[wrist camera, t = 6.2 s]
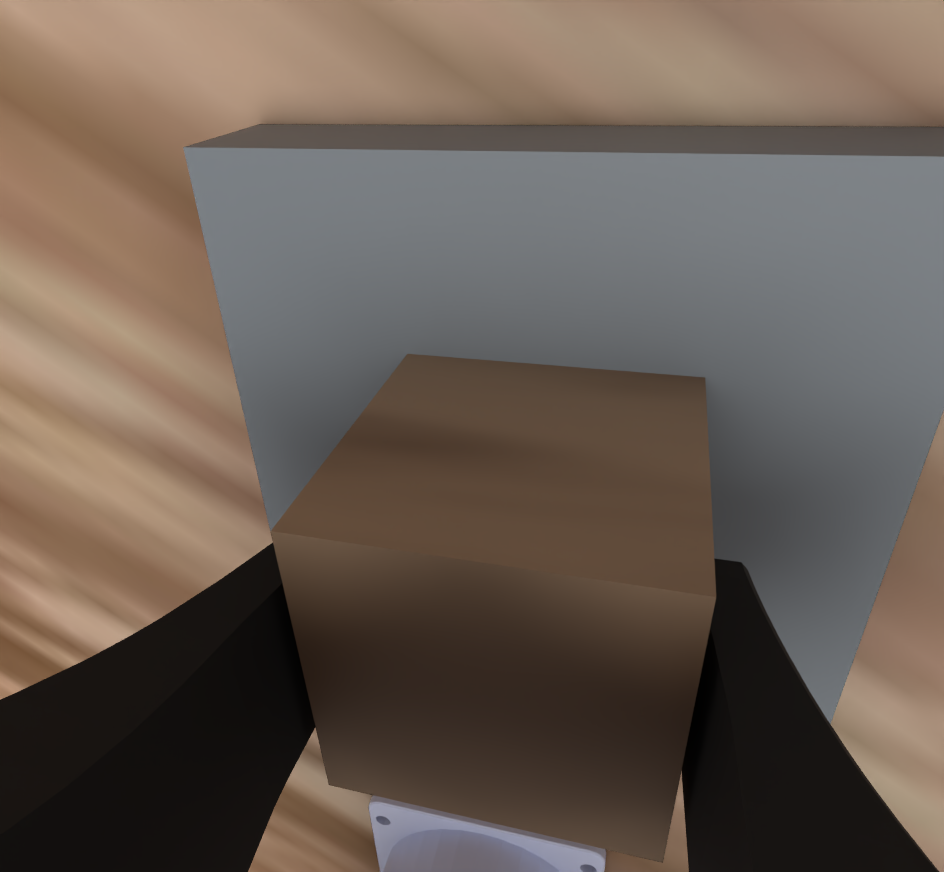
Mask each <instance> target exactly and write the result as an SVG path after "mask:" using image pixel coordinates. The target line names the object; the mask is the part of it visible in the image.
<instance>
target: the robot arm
mask: <svg viewBox="0 0 944 872" xmlns="http://www.w3.org/2000/svg"><path fill="white" fill-rule="evenodd" d="M714 561H715V581H716V601H715V606H714V611H713V616H712V621H711V626H710V631H709V636H708V641H707V646H706V651H705V656H704V661H703V666H702V671H701V676H700V681H699V686H698V690H697V695H696V700H695V705H694V710H693V715H692V720H691V725H690V730H689V735H688V740H687V745H686V750H685V755H684V760H683V765H682V782H683V796H684V809H685V823H686V837H687V850H688V864H689V872H939V871H938V870H937V869H936V867H935V866H934V865H933V864H932V862H931V861H930V860H929V859H928V857H927V856H926V855H925V854H924V852H923V851H922V850H921V849H920V847H919V846H918V845H917V844H916V842H915V841H914V840H913V839H912V837H911V836H910V835H909V833H908V832H907V831H906V830H905V828H904V827H903V826H902V825H901V823H900V822H899V821H898V819H897V818H896V817H895V815H894V814H893V813H892V811H891V810H890V809H889V807H888V806H887V805H886V803H885V802H884V801H883V799H882V798H881V797H880V796H879V794H878V793H877V792H876V790H875V789H874V787H873V786H872V785H871V783H870V782H869V781H868V779H867V778H866V776H865V775H864V774H863V772H862V771H861V769H860V768H859V766H858V765H857V764H856V762H855V761H854V759H853V758H852V756H851V755H850V753H849V752H848V750H847V749H846V747H845V746H844V744H843V743H842V741H841V740H840V738H839V737H838V735H837V734H836V732H835V731H834V729H833V728H832V726H831V725H830V723H829V721H828V720H827V718H826V717H825V715H824V714H823V712H822V710H821V709H820V707H819V706H818V704H817V702H816V701H815V699H814V697H813V696H812V694H811V693H810V691H809V689H808V687H807V686H806V684H805V682H804V680H803V679H802V677H801V675H800V673H799V672H798V670H797V668H796V667H795V665H794V663H793V661H792V660H791V658H790V656H789V654H788V653H787V651H786V649H785V647H784V645H783V643H782V641H781V640H780V638H779V636H778V634H777V632H776V630H775V628H774V626H773V624H772V622H771V620H770V618H769V616H768V614H767V612H766V610H765V608H764V606H763V604H762V602H761V599H760V597H759V595H758V593H757V591H756V588H755V586H754V584H753V581H752V579H751V577H750V574H749V571H748V569H747V568H746V567H745V566H744V565H743V563H742V562H737V561H730V560H722V559H715V558H714ZM314 728H315V722H314V718H313V714H312V709H311V705H310V701H309V696H308V692H307V688H306V683H305V679H304V675H303V670H302V666H301V662H300V657H299V653H298V649H297V644H296V640H295V636H294V631H293V627H292V622H291V618H290V614H289V609H288V605H287V601H286V596H285V592H284V588H283V583H282V579H281V575H280V570H279V566H278V562H277V557H276V553H275V549H274V544H273V543H272V544H270V545H269V546H267V547H266V548H265V549H263V550H262V551H260V552H259V553H258V554H256V555H255V556H253V557H252V558H251V559H249V560H248V561H246V562H245V563H243V564H242V565H241V566H239V567H238V568H236V569H235V570H234V571H232V572H231V573H229V574H228V575H226V576H225V577H224V578H222V579H221V580H219V581H218V582H216V583H215V584H213V585H211V586H210V587H208V588H207V589H205V590H204V591H202V592H201V593H199V594H197V595H196V596H194V597H193V598H191V599H190V600H188V601H187V602H185V603H184V604H182V605H180V606H179V607H177V608H176V609H174V610H173V611H171V612H170V613H168V614H166V615H165V616H163V617H162V618H160V619H158V620H157V621H155V622H153V623H152V624H150V625H148V626H147V627H145V628H143V629H141V630H140V631H138V632H136V633H134V634H133V635H131V636H129V637H127V638H125V639H124V640H122V641H120V642H118V643H116V644H114V645H113V646H111V647H109V648H107V649H105V650H103V651H101V652H100V653H98V654H96V655H94V656H92V657H90V658H88V659H86V660H84V661H82V662H80V663H78V664H76V665H74V666H72V667H70V668H68V669H65V670H63V671H61V672H59V673H57V674H55V675H53V676H51V677H49V678H46V679H44V680H42V681H40V682H38V683H36V684H34V685H32V686H29V687H27V688H25V689H23V690H21V691H19V692H17V693H15V694H12V695H10V696H8V697H6V698H3V699H1V700H0V872H248V870H249V868H250V865H251V863H252V860H253V858H254V855H255V853H256V851H257V848H258V846H259V843H260V841H261V838H262V836H263V833H264V831H265V829H266V826H267V824H268V821H269V819H270V816H271V814H272V812H273V809H274V807H275V805H276V803H277V800H278V798H279V796H280V794H281V792H282V790H283V788H284V786H285V784H286V782H287V780H288V778H289V776H290V774H291V772H292V770H293V768H294V766H295V764H296V762H297V761H298V759H299V757H300V755H301V753H302V751H303V749H304V747H305V745H306V744H307V742H308V740H309V738H310V736H311V734H312V732H313V730H314ZM369 813H370V818H371V824H372V829H373V835H374V840H375V846H376V851H377V857H378V862H379V868H380V872H604V869H605V861H606V851H605V849H602V848H598V847H593V846H589V845H585V844H581V843H576V842H572V841H568V840H563V839H559V838H555V837H550V836H546V835H542V834H538V833H533V832H529V831H525V830H520V829H516V828H512V827H508V826H503V825H499V824H495V823H490V822H486V821H482V820H477V819H473V818H469V817H465V816H460V815H456V814H452V813H447V812H443V811H439V810H434V809H430V808H426V807H422V806H417V805H413V804H409V803H404V802H400V801H396V800H392V799H387V798H383V797H379V796H374V795H373V796H372V798H371V801H370V803H369Z"/></svg>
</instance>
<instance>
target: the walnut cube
mask: <svg viewBox="0 0 944 872" xmlns="http://www.w3.org/2000/svg"><path fill="white" fill-rule="evenodd" d="M271 536H272V540H273V544H274V549H275V553H276V557H277V562H278V566H279V570H280V575H281V579H282V583H283V588H284V592H285V596H286V601H287V605H288V609H289V614H290V618H291V622H292V627H293V631H294V636H295V640H296V644H297V649H298V653H299V657H300V662H301V666H302V670H303V675H304V679H305V683H306V688H307V692H308V696H309V701H310V705H311V709H312V714H313V718H314V722H315V727H316V731H317V735H318V740H319V744H320V748H321V753H322V757H323V761H324V766H325V770H326V775H327V779H328V783H329V785H331V786H336V787H340V788H344V789H349V790H353V791H357V792H361V793H366V794H370V795H374V796H379V797H383V798H387V799H392V800H396V801H400V802H404V803H409V804H413V805H417V806H422V807H426V808H430V809H434V810H439V811H443V812H447V813H452V814H456V815H460V816H465V817H469V818H473V819H477V820H482V821H486V822H490V823H495V824H499V825H503V826H508V827H512V828H516V829H520V830H525V831H529V832H533V833H538V834H542V835H546V836H550V837H555V838H559V839H563V840H568V841H572V842H576V843H581V844H585V845H589V846H593V847H598V848H602V849H606V850H611V851H615V852H619V853H623V854H628V855H632V856H636V857H641V858H645V859H649V860H654V861H658V862H662V863H663V859H664V854H665V849H666V844H667V839H668V834H669V829H670V824H671V819H672V815H673V810H674V805H675V800H676V795H677V790H678V785H679V780H680V775H681V770H682V765H683V760H684V755H685V750H686V745H687V740H688V735H689V730H690V725H691V720H692V715H693V710H694V705H695V700H696V695H697V690H698V686H699V681H700V676H701V671H702V666H703V661H704V656H705V651H706V646H707V641H708V636H709V631H710V626H711V621H712V616H713V611H714V606H715V601H716V581H715V561H714V541H713V521H712V502H711V482H710V462H709V442H708V422H707V402H706V383H705V377H693V376H681V375H668V374H656V373H643V372H631V371H618V370H605V369H593V368H580V367H568V366H555V365H542V364H530V363H517V362H505V361H492V360H479V359H467V358H454V357H442V356H429V355H416V354H407V355H406V356H405V358H404V359H403V360H402V361H401V363H400V364H399V365H398V367H397V368H396V369H395V370H394V372H393V373H392V374H391V376H390V377H389V378H388V380H387V381H386V382H385V383H384V385H383V386H382V387H381V389H380V390H379V391H378V393H377V394H376V395H375V396H374V398H373V399H372V400H371V402H370V403H369V404H368V405H367V407H366V408H365V409H364V411H363V412H362V413H361V415H360V416H359V417H358V418H357V420H356V421H355V422H354V424H353V425H352V426H351V428H350V429H349V430H348V431H347V433H346V434H345V435H344V437H343V438H342V439H341V440H340V442H339V443H338V444H337V446H336V447H335V448H334V450H333V451H332V452H331V453H330V455H329V456H328V457H327V459H326V460H325V461H324V462H323V464H322V465H321V466H320V468H319V469H318V470H317V472H316V473H315V474H314V475H313V477H312V478H311V479H310V481H309V482H308V483H307V485H306V486H305V487H304V488H303V490H302V491H301V492H300V494H299V495H298V496H297V497H296V499H295V500H294V501H293V503H292V504H291V505H290V507H289V508H288V509H287V510H286V512H285V513H284V514H283V516H282V517H281V518H280V520H279V521H278V522H277V523H276V525H275V526H274V527H273V529H272V530H271Z"/></svg>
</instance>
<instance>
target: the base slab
mask: <svg viewBox="0 0 944 872" xmlns="http://www.w3.org/2000/svg"><path fill="white" fill-rule="evenodd" d="M183 148H184V152H185V157H186V161H187V166H188V170H189V174H190V179H191V183H192V188H193V192H194V196H195V201H196V205H197V210H198V214H199V218H200V223H201V227H202V232H203V236H204V240H205V245H206V249H207V254H208V258H209V263H210V267H211V271H212V276H213V280H214V285H215V289H216V293H217V298H218V302H219V307H220V311H221V315H222V320H223V324H224V329H225V333H226V337H227V342H228V346H229V351H230V355H231V359H232V364H233V368H234V373H235V377H236V382H237V386H238V390H239V395H240V399H241V404H242V408H243V412H244V417H245V421H246V426H247V430H248V434H249V439H250V443H251V448H252V452H253V456H254V461H255V465H256V470H257V474H258V478H259V483H260V487H261V492H262V496H263V500H264V505H265V509H266V514H267V518H268V523H269V527H270V531H271V530H272V529H273V527H274V526H275V525H276V523H277V522H278V521H279V520H280V518H281V517H282V516H283V514H284V513H285V512H286V510H287V509H288V508H289V507H290V505H291V504H292V503H293V501H294V500H295V499H296V497H297V496H298V495H299V494H300V492H301V491H302V490H303V488H304V487H305V486H306V485H307V483H308V482H309V481H310V479H311V478H312V477H313V475H314V474H315V473H316V472H317V470H318V469H319V468H320V466H321V465H322V464H323V462H324V461H325V460H326V459H327V457H328V456H329V455H330V453H331V452H332V451H333V450H334V448H335V447H336V446H337V444H338V443H339V442H340V440H341V439H342V438H343V437H344V435H345V434H346V433H347V431H348V430H349V429H350V428H351V426H352V425H353V424H354V422H355V421H356V420H357V418H358V417H359V416H360V415H361V413H362V412H363V411H364V409H365V408H366V407H367V405H368V404H369V403H370V402H371V400H372V399H373V398H374V396H375V395H376V394H377V393H378V391H379V390H380V389H381V387H382V386H383V385H384V383H385V382H386V381H387V380H388V378H389V377H390V376H391V374H392V373H393V372H394V370H395V369H396V368H397V367H398V365H399V364H400V363H401V361H402V360H403V359H404V358H405V356H406V355H407V354H416V355H429V356H442V357H454V358H467V359H479V360H492V361H505V362H517V363H530V364H542V365H555V366H568V367H580V368H593V369H605V370H618V371H631V372H643V373H656V374H668V375H681V376H693V377H705V383H706V402H707V422H708V442H709V462H710V482H711V502H712V521H713V541H714V558H715V559H722V560H730V561H737V562H742V563H743V565H744V566H745V567H746V568H747V569H748V571H749V574H750V577H751V579H752V581H753V584H754V586H755V588H756V591H757V593H758V595H759V597H760V599H761V602H762V604H763V606H764V608H765V610H766V612H767V614H768V616H769V618H770V620H771V622H772V624H773V626H774V628H775V630H776V632H777V634H778V636H779V638H780V640H781V641H782V643H783V645H784V647H785V649H786V651H787V653H788V654H789V656H790V658H791V660H792V661H793V663H794V665H795V667H796V668H797V670H798V672H799V673H800V675H801V677H802V679H803V680H804V682H805V684H806V686H807V687H808V689H809V691H810V693H811V694H812V696H813V697H814V699H815V701H816V702H817V704H818V706H819V707H820V709H821V710H822V712H823V714H824V715H825V717H826V718H827V720H828V721H829V723H830V724H831V721H832V718H833V715H834V712H835V710H836V707H837V704H838V701H839V699H840V696H841V693H842V690H843V687H844V685H845V682H846V679H847V676H848V674H849V671H850V668H851V665H852V663H853V660H854V657H855V654H856V651H857V649H858V646H859V643H860V640H861V638H862V635H863V632H864V629H865V626H866V624H867V621H868V618H869V615H870V613H871V610H872V607H873V604H874V602H875V599H876V596H877V593H878V590H879V588H880V585H881V582H882V579H883V577H884V574H885V571H886V568H887V565H888V563H889V560H890V557H891V554H892V552H893V549H894V546H895V543H896V541H897V538H898V535H899V532H900V529H901V527H902V524H903V521H904V518H905V516H906V513H907V510H908V507H909V504H910V502H911V499H912V496H913V493H914V491H915V488H916V485H917V482H918V479H919V477H920V474H921V471H922V468H923V466H924V463H925V460H926V457H927V455H928V452H929V449H930V446H931V443H932V441H933V438H934V435H935V432H936V430H937V427H938V424H939V421H940V418H941V416H942V413H943V410H944V127H816V126H557V125H298V124H259V125H256V126H252V127H249V128H246V129H242V130H239V131H236V132H232V133H229V134H226V135H222V136H219V137H216V138H213V139H209V140H206V141H203V142H199V143H196V144H193V145H189V146H186V147H183Z"/></svg>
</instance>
